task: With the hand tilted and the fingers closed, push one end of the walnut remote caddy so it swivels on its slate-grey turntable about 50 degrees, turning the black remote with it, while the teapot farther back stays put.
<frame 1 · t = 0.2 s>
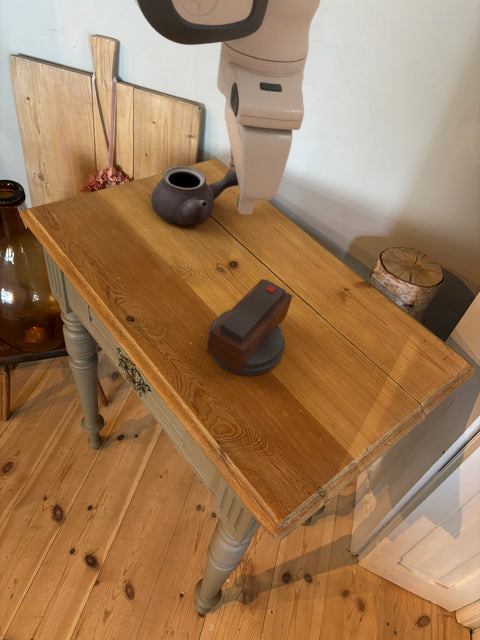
hand: (239, 189, 59), 23 cm above the table, tool pointing down, fingers open, 8 cm apart
teapot: (199, 212, 94), on the table
turntable base: (245, 344, 72), on the table
remote caddy: (250, 322, 68), point 5 cm above the table, hinge at 0.0°
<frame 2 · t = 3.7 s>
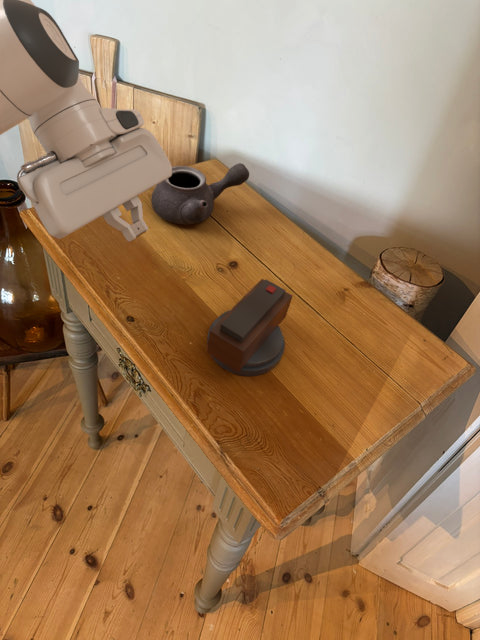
hand: (138, 236, 63), 15 cm above the table, tool tilted 45°, fingers closed
nothing on the table moved.
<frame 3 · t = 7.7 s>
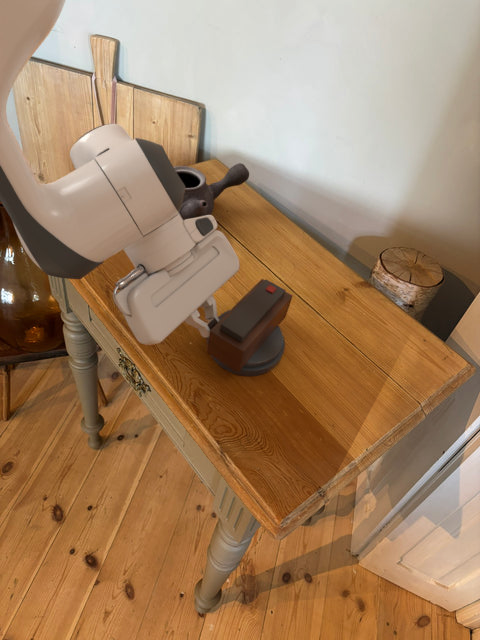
hand: (213, 331, 67), 5 cm above the table, tool tilted 45°, fingers closed, pressing on remote caddy
remote caddy: (250, 322, 68), point 5 cm above the table, hinge at 0.0°, touching gripper
everything else where it was.
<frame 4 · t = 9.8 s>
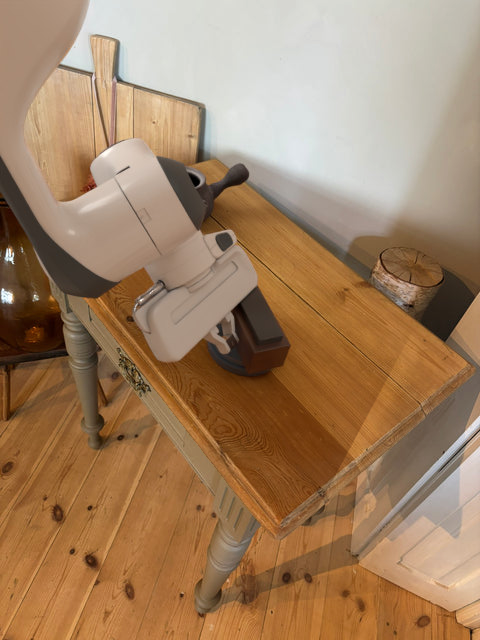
hand: (230, 347, 65), 5 cm above the table, tool tilted 45°, fingers closed
remote caddy: (250, 322, 68), point 5 cm above the table, hinge at 54.6°, touching gripper
everything else where it was.
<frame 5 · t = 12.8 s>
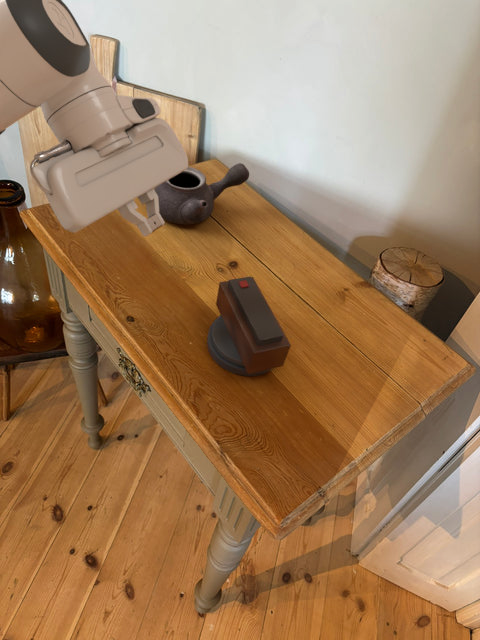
hand: (154, 230, 60), 17 cm above the table, tool tilted 45°, fingers closed
remote caddy: (250, 322, 68), point 5 cm above the table, hinge at 54.6°
everything else where it was.
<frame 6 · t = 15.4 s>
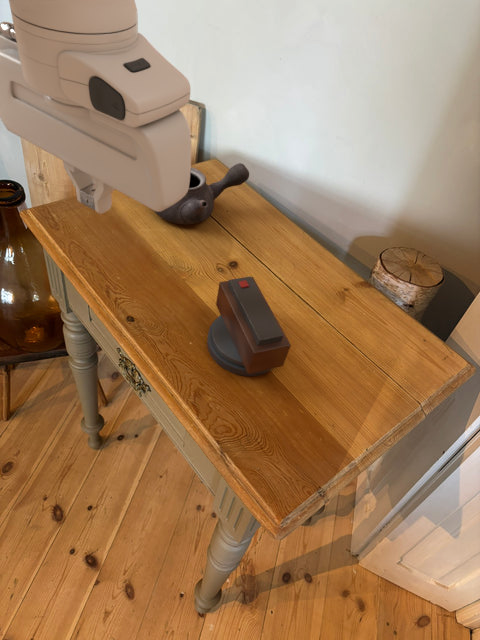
hand: (94, 205, 46), 27 cm above the table, tool pointing down, fingers closed
nothing on the table moved.
at the end: remote caddy at +55° (first picture: +0°); teapot moved 0.2 cm from its start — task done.
